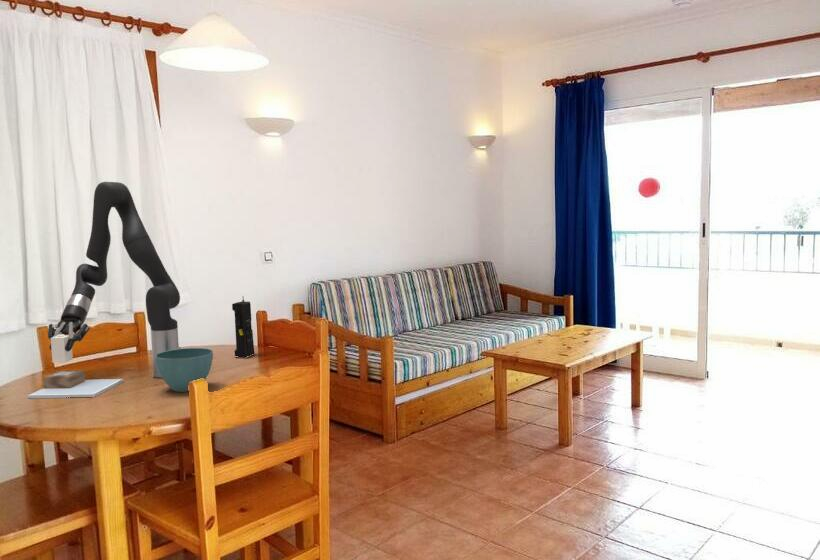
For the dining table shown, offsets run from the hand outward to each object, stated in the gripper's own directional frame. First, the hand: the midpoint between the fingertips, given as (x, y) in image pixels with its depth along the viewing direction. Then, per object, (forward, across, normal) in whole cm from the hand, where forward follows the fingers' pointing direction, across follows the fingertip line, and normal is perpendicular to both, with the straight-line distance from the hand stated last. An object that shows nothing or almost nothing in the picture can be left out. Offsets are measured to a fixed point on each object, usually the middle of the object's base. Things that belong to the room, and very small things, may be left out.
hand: (59, 350), depth 217 cm
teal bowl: (+11, +44, +7) cm, 46 cm away
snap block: (+2, 0, +4) cm, 4 cm away
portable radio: (-24, +49, +43) cm, 70 cm away
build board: (+11, +6, +8) cm, 15 cm away
